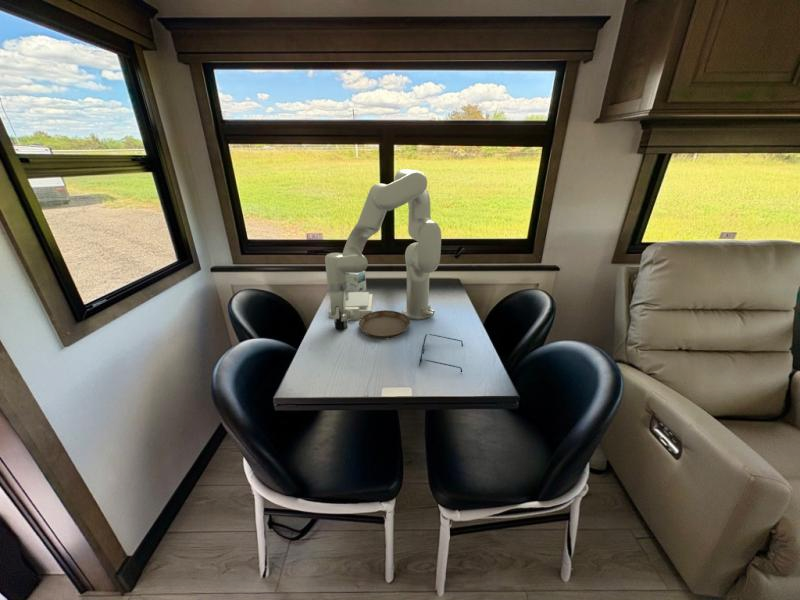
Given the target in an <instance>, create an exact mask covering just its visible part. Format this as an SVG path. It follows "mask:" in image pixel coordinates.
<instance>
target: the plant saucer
mask: <svg viewBox="0 0 800 600" xmlns="http://www.w3.org/2000/svg"><path fill="white" fill-rule="evenodd" d="M358 321H359V322H358V326H359V328H360V329H361V331H362V332H363V333H364V334H366V335H367V336H368V337H371V338H375V339H379V338H380V339H381V340H382V339H383V340H388V339H393V337H394V338H397V337H399V336H401V335H402V334H403V333H405V332H406V331H407V330H408V329H409V327H410V324H411V319H410V318H408V317H407V316H406V315H404V314H403V312H402V313H401V312H400V311H395V310H390V309H389V310H382V309H381V310H376V311H372V312H371V313H369V314H366V315H365V316H363V317H360V319H359V320H358ZM396 336H397V337H396ZM387 338H388V339H387ZM380 339H379V340H380Z"/></svg>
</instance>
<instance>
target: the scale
mask: <svg viewBox="0 0 800 600" xmlns="http://www.w3.org/2000/svg"><path fill="white" fill-rule="evenodd" d="M348 295H349V299H348V300H347V301H346V307H345V312H346V313H347V321H360V319H361V318H362V317H363V316H365V315H366V314H369V313H371V312H373V300H374V299H373V298H374V297H373V293H370V291H364V292H348ZM328 314H329V318H330V319H334V315H333V316H332V315H331V306H330V308H329V311H328Z"/></svg>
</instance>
